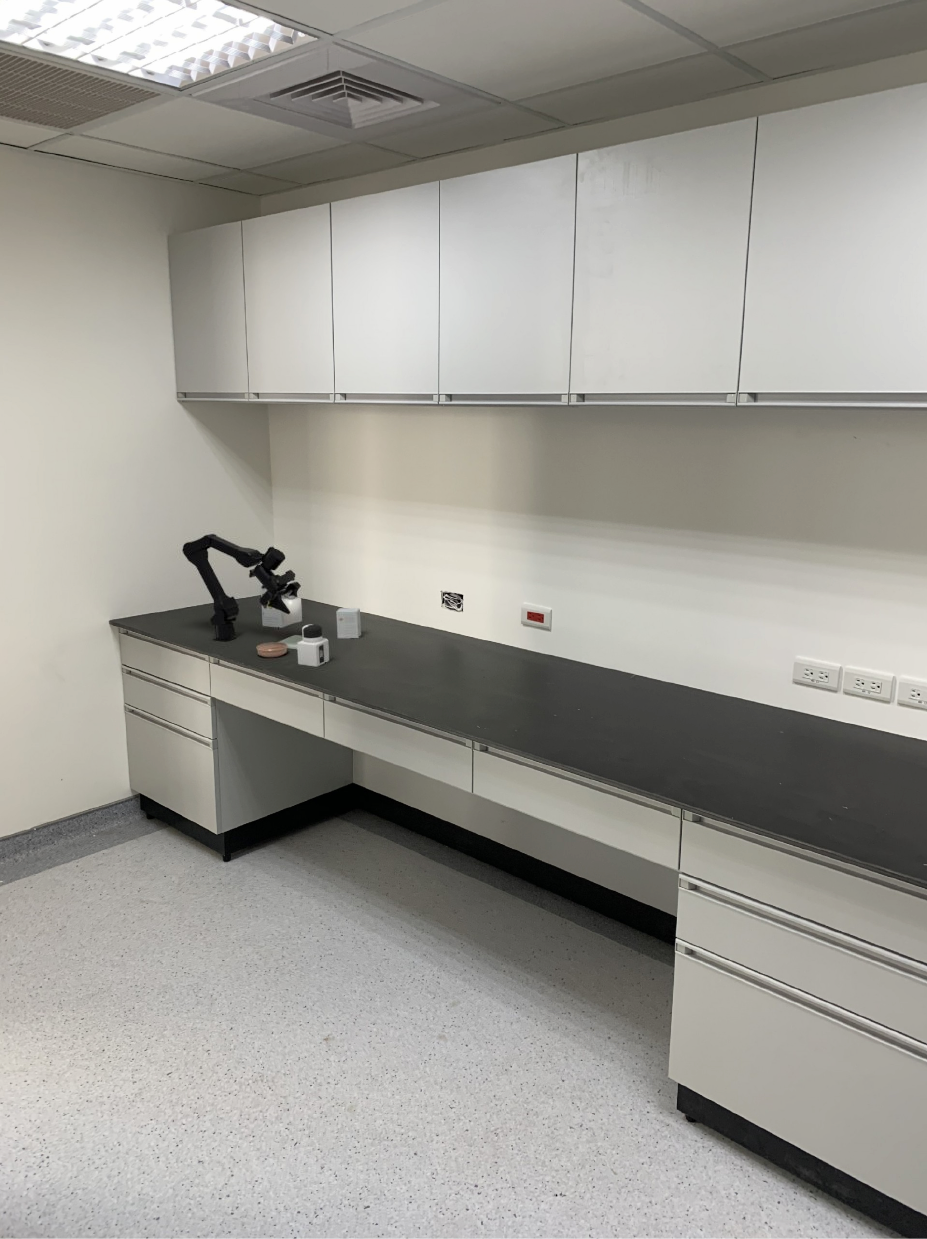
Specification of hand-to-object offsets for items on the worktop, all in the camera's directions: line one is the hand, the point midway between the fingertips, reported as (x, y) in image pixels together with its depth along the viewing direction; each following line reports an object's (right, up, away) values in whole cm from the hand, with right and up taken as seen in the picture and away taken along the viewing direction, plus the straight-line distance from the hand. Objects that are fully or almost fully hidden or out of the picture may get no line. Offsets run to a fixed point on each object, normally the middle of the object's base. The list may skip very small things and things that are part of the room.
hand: (295, 611), depth 315 cm
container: (+9, -18, -15) cm, 25 cm away
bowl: (-7, -15, -5) cm, 18 cm away
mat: (0, -12, +8) cm, 14 cm away
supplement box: (-14, -5, +36) cm, 39 cm away
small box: (+17, -10, +17) cm, 26 cm away
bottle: (-1, -3, +1) cm, 4 cm away
